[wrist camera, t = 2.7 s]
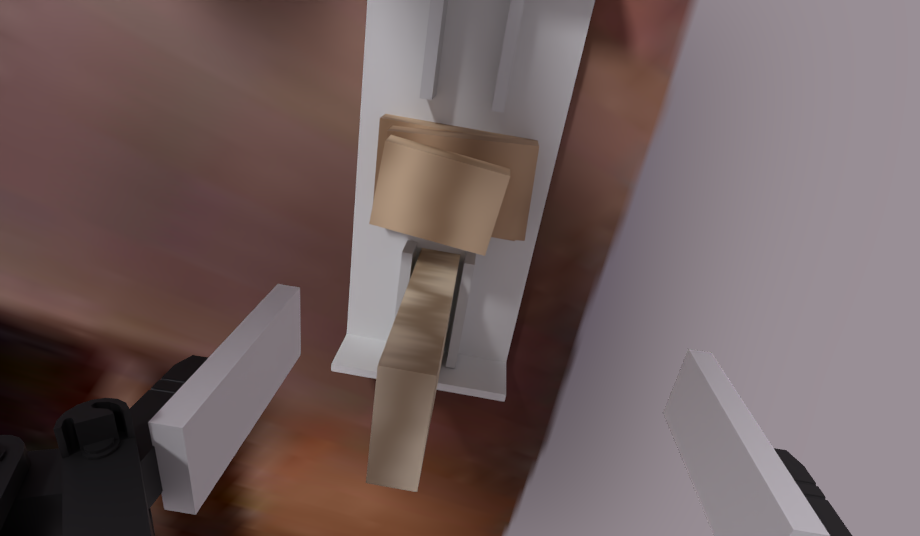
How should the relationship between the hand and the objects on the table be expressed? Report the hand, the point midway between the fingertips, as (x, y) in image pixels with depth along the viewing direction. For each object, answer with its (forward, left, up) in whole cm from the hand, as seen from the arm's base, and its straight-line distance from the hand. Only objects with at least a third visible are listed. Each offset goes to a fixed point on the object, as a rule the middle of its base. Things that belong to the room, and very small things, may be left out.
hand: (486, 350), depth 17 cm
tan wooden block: (-3, -14, -26) cm, 30 cm away
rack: (-3, -2, -27) cm, 27 cm away
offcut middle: (-3, -1, -24) cm, 24 cm away
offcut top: (-4, -2, -22) cm, 22 cm away
